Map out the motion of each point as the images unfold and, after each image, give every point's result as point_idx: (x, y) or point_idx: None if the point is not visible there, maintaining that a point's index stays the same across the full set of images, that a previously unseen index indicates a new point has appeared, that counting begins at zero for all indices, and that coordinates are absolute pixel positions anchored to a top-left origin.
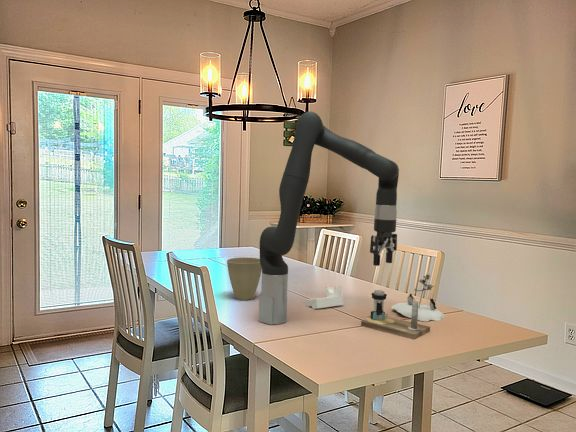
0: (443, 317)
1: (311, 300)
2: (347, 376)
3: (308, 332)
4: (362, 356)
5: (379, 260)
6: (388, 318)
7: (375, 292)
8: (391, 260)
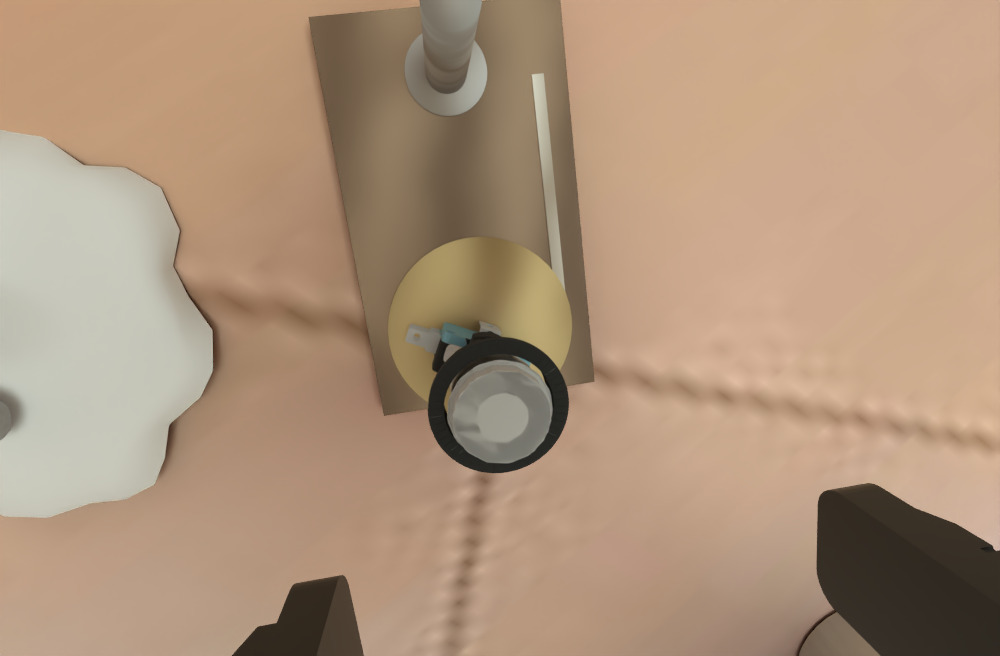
0: None
1: None
2: None
3: (875, 445)
4: (988, 35)
5: (953, 543)
6: (408, 317)
7: (549, 421)
8: (325, 611)
